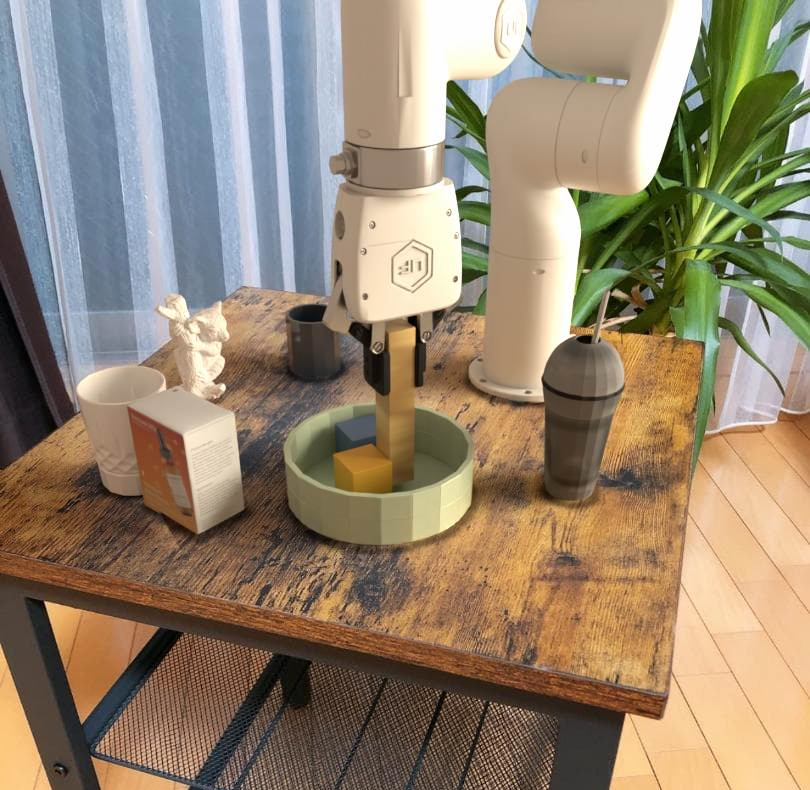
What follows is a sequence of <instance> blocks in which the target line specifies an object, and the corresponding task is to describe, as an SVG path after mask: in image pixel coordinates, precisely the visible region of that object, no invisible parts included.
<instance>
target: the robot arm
mask: <svg viewBox="0 0 810 790" xmlns="http://www.w3.org/2000/svg"><path fill="white" fill-rule="evenodd" d="M702 4H703V3H702V0H538V1H537V4H536V8H535V11H534V16H533V20H532V26H531V33H530V35H531V36H530V46H531V51H532V54H533V56H534V58H535V59H536V61H537V62H538V63H539V64H540V65H541V66H543V67H544V68H546V69H548V70H551V71H554V72H556V73H562V74H566V75H573V76H580V77H591V78H601V79H613V80H621V81H627V83H626V84H624V85H623V84H614V83H613V84H611V83H602V82H594V81H593V82H592V81H586V80H579V79H571V78H560V77H549V76H528V77H522V78H518V79H515V80H512V81H510V82H508V83H506V84H505V85H503V87H501V88H500V89H499V90H498V92H496V94H495V95H494V97H493V98H492V100H491V102H490V104H489V107H488V110H487V114H486V119H485V120H486V121H485V147H486V156H487V162H488V171H489V182H490V221H489V222H490V225H489V228H490V229H489V240H488V241H489V244H488V258H487V259H488V261H487V276H486V278H487V279H486V281H487V282H486V294H485V295H486V297H485V313H484V331H483V347H482V348H483V349H482V354H481V355H478V357H476V358H474V359H473V361H471V363H470V364H469V366H468V379H469V381H470V383H471V384H472V385H473V386H475V388H477V389H479V390H480V391H482V392H484V393H486V394H488V395H491V396H494V397H497V398H500V399H501V398H502V399H505V400H508V401H515V402H527V403H528V402H534V404H538V403H540V404H541V403H544V397H543V388H542V387H543V385H542V381H541V377H542V375H543V373H544V368H545V365H546V363H547V361H548V359H549V357H550V355H551V353H552V352H553V350H554V349H555V348H556V347H557V346H558V345H559V344H560V343H562V342H563V341H565V340H566V339H568V338H570V337H573V336H576V335H577V334H575V333H570V331H571V323H572V313H573V305H574V297H575V290H576V280H577V279H576V278H577V271H578V262H579V254H580V246H581V237H582V236H581V235H582V234H581V233H582V228H581V221H580V215H579V213H578V210H577V206H576V204H575V202H574V200H573V198H572V196H571V193H570V192H569V189H571V190H572V189H573V190H579V191H586V192H593V193H598V194H606V195H614V196H632V195H636V194H638V193H640V192H642V191H644V190H645V189H646V188H647V187H648V186H649V184H650V183H651V182H652V180H653V178H654V176H655V175H656V173H657V171H658V168H659V165H660V163H661V160H662V157H663V154H664V151H665V148H666V146H667V142H668V139H669V136H670V133H671V129H672V126H673V123H674V120H675V117H676V114H677V110H678V108H679V103H680V101H681V97H682V94H683V91H684V88H685V85H686V81H687V80H688V79H687V78H688V76H689V72H690V68H691V66H692V63H693V59H694V55H695V53H696V48H697V44H698V42H699V35H700V30H701V24H702V13H703V12H702V11H703V9H702V8H703V7H702V6H703V5H702ZM527 15H528V14H527V6H526V1H525V0H340V39H341V41H340V42H341V44H340V45H341V71H342V72H341V73H342V101H343V104H342V105H343V133H344V135H343V137H344V141H341V142H342V143H341V144H342V146H341V147H342V149H341V150H342V152H339V153H338V154H336V155H335V154H334V155H330V156H329V159H328V166H329V170H330V173H331V175H333V176H336V175H341V176H343V178H344V179H345V182H341V183H339V184H338V189H337V195H336V199H335V204H334V213H333V220H332V231H331V247H330V249H331V251H330V285H331V295H330V298H329V301H328V303H327V305H328V306H327V308H326V311H325V314H324V316H323V320H322V321H323V324H324V325H325V326H327V327H328V328H329V329H330V330H332V331H336V332H339V334H342V335H346V336H351V337H353V338H354V339H355V340H356V341H358V342H359V343H360V344H361V345H362V359H363V360H362V361H363V363H362V364H363V378H364V381H365V382H366V383H367V385H368V386H370V387H371V388H372V389H373V390H374V391H375V392H376V391H377V392H378V393H379V394H380V395H382V396H385V395H389V393H390V391H391V383H390V353H389V352H387V351H386V350H385V349H384V343H385V323H386V321H389V320H394V319H399V318H402V319H404V320H405V321H407V322H408V323H410V324H411V325H412V326H414V327H415V389H417V388H422V387H423V386H424V379H425V378H424V375H425V374H424V373H425V372H426V371H427V344H428V343H430V342H431V341H432V339H433V336H434V331H435V329H437V327H438V325H440V323H441V321H442V320H443V319H444V317H445V316H446V314H449V313H450V312H451V311H453V310H454V309H455V308H457V307H458V306H460V305H461V304H462V303H463V301H464V293H463V292H462V275H463V274H462V273H463V270H462V268H463V267H462V266H463V265H462V264H463V263H462V239H461V237H462V236H461V225H460V224H461V223H460V215H459V209H458V207H459V206H458V201H457V195H456V190H455V186H454V181H453V180H452V179H450V178H448V177H446V176H445V146H446V140H445V139H446V115H447V113H446V110H447V83H448V82H449V81H481V80H487V79H489V78H493V77H494V76H496V75H499V74H500V73H502V72H503V71H504V70H505V69H506V68H508V67H509V65H511V63H512V62H513V61H514V59H515V58H516V57H517V55H518V54H519V52H520V50H521V47H522V45H523V43H524V39H525V35H526V30H527V23H528V22H527V21H528V19H527V18H528V16H527ZM348 314H349V316H350V317H349V316H347V315H348Z"/></svg>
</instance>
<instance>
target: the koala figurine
mask: <svg viewBox="0 0 810 790" xmlns="http://www.w3.org/2000/svg"><path fill="white" fill-rule="evenodd" d="M164 304H165V307H163V306H161V305H157V306H155V307H154V311H155V312H156V313H158V314H159V316H162V317H164V318H166V319H168V332H169V333H168V334H169V338H170V339H171V340H172V341H174V342H175V343H178V346H177V347H176V348H175V349H174V351H173V357H174V361H175V362H174V363H175V365H176V367H177V370H178V375H179V378H180V380H181V381H182V383H180V385H179V386H180V387H182V388H184V389H185V390H187V391H189V392H191V393H193V394H195V395H197V396H199V397H201V398H203V399H205V400H207V399H217V398H220V396H222V395H223V394H224V392H225V391H226V389H227V388H226V385H225V383H222V382H221V383H217V384H215V382H214V380H216V378H217V377H218V376H220V375H221V373H222V372H223V370H224V367H225V364H226V360H225V357H224V356H223V355H221V351H222V348H223V345H222V343H225V342H227V341H229V340H230V334H229V332H228V330H227V326H228V322H227V320H226V318H225V317H224V315H223V314H222V307H223V301H221V300H219V301H215V302H213V304H212V305H211V306H210V307H209V308H204V309H201V310H198V311H196V313H194V314H193V316H192V317H191V315H190V312H189V310H188V306H187V302H186V299H185V298H184V296H183V295H181V294H178V293H173V292H171V293H169V294H167V295H166V297H165V298H164Z"/></svg>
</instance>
